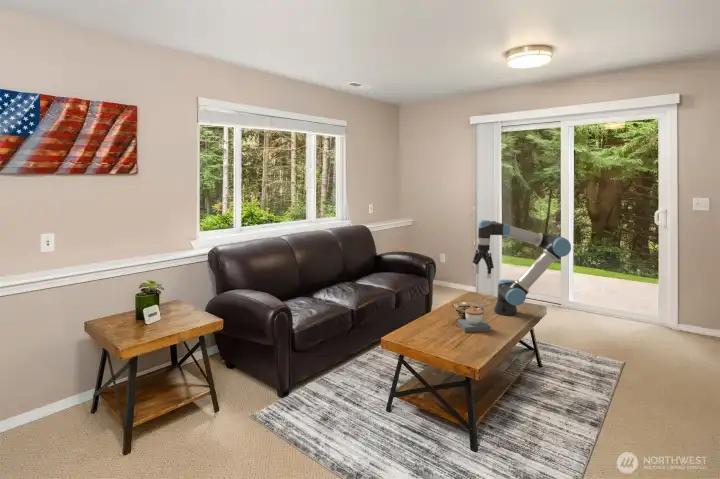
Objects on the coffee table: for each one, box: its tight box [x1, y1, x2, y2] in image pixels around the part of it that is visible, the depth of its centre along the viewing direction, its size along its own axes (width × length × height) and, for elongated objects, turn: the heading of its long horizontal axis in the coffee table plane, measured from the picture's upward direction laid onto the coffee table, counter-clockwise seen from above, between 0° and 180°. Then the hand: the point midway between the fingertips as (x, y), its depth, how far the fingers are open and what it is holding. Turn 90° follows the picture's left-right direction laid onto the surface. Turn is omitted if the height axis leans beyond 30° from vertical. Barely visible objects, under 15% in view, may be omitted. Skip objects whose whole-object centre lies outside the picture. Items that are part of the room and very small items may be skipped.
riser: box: [457, 318, 491, 333], centre depth 259 cm, size 16×14×3 cm
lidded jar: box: [464, 307, 484, 324], centre depth 258 cm, size 11×11×9 cm
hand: (482, 276), depth 272 cm, fingers open, 13 cm apart
